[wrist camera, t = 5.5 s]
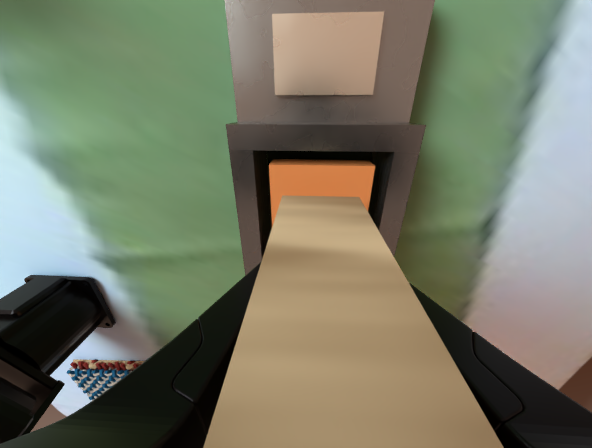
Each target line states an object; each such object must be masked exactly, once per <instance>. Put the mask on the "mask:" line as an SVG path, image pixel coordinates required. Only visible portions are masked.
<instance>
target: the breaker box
mask: <svg viewBox="0 0 592 448" xmlns="http://www.w3.org/2000/svg"><path fill="white" fill-rule="evenodd" d="M434 2H435V0H225V8H226V18H227V27H228V36H229V46H230V55H231V64H232V74H233V83H234V92H235V101H236V111H237V120H238V122H236V123H230V124H226V129H227V137H228V145H229V152H230V160H231V168H232V176H233V183H234V191H235V199H236V206H237V214H238V222H239V229H240V237H241V245H242V253H243V260H244V268H245V276H246V275H247V274H248V273H249V272H250V271H251V270H252V269H253V268H255V267H256V266H257V265H258V264H259V263H260V262H261V261H262V259H263V255H264V252H265V249H266V246H267V243H268V239H269V236H270V233H271V214H270V196H269V179H268V161H267V151H364V152H372V156H371V163H372V164H373V165H374V166H375V171H374V177H373V183H372V189H371V196H370V202H369V208H368V213H369V215H370V217H371V218H372V220H373V222H374V224H375V225H376V227H377V229H378V230H379V232H380V234H381V236H382V237H383V239H384V241H385V243H386V244H387V246H388V248H389V250H390V251H391V253H392V255H393V257H394V255H395V251H396V247H397V243H398V239H399V235H400V230H401V226H402V222H403V218H404V214H405V210H406V206H407V202H408V197H409V193H410V189H411V185H412V181H413V177H414V173H415V169H416V165H417V160H418V156H419V152H420V148H421V144H422V140H423V136H424V132H425V127H426V125H422V124H414V123H409V121H410V116H411V111H412V106H413V102H414V97H415V92H416V87H417V82H418V78H419V73H420V68H421V63H422V59H423V54H424V49H425V44H426V40H427V35H428V30H429V25H430V21H431V16H432V11H433V6H434Z"/></svg>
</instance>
